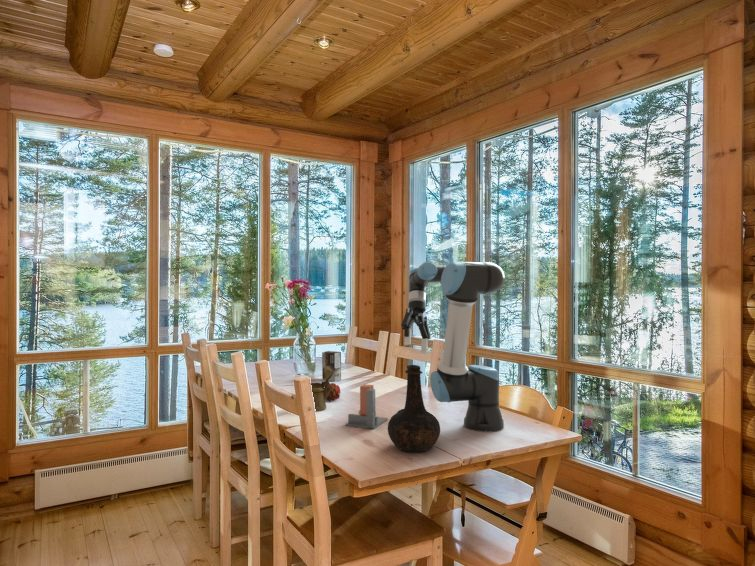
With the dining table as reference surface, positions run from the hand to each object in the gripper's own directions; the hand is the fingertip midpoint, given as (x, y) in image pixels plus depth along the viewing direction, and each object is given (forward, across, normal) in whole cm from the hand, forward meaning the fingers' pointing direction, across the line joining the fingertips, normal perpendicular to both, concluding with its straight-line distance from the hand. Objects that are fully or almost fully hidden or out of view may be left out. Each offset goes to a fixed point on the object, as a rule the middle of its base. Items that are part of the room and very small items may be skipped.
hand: (416, 349), depth 220 cm
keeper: (+32, +12, -15) cm, 37 cm away
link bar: (+31, +12, -15) cm, 36 cm away
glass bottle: (+44, +25, +15) cm, 53 cm away
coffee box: (-3, -40, -80) cm, 89 cm away
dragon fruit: (+16, -8, -51) cm, 54 cm away
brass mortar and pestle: (+24, +7, -44) cm, 50 cm away
